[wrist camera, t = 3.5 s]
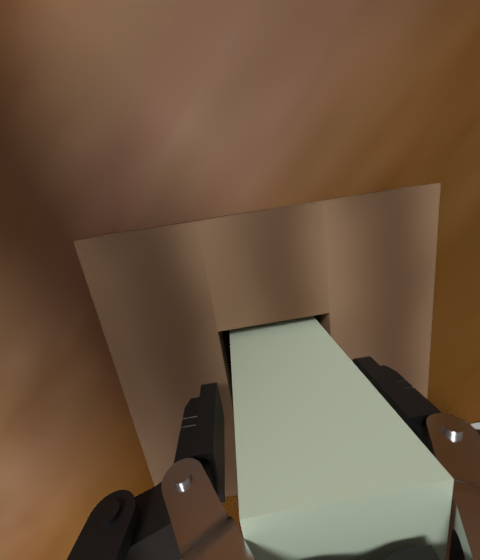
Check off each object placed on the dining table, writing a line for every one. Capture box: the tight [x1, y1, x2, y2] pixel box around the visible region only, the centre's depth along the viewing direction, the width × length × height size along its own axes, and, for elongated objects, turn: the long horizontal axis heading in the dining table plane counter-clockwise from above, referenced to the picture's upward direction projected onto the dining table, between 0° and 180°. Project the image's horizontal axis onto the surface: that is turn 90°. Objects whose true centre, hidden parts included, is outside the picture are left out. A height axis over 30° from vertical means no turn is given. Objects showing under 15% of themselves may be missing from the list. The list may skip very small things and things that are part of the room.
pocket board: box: [73, 183, 441, 497], centre depth 14 cm, size 16×16×2 cm
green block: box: [229, 316, 454, 560], centre depth 11 cm, size 4×4×10 cm
